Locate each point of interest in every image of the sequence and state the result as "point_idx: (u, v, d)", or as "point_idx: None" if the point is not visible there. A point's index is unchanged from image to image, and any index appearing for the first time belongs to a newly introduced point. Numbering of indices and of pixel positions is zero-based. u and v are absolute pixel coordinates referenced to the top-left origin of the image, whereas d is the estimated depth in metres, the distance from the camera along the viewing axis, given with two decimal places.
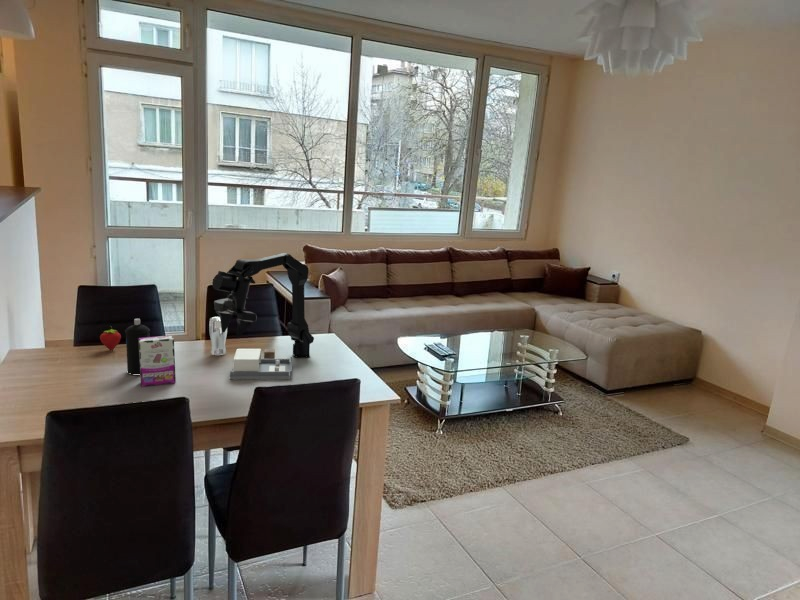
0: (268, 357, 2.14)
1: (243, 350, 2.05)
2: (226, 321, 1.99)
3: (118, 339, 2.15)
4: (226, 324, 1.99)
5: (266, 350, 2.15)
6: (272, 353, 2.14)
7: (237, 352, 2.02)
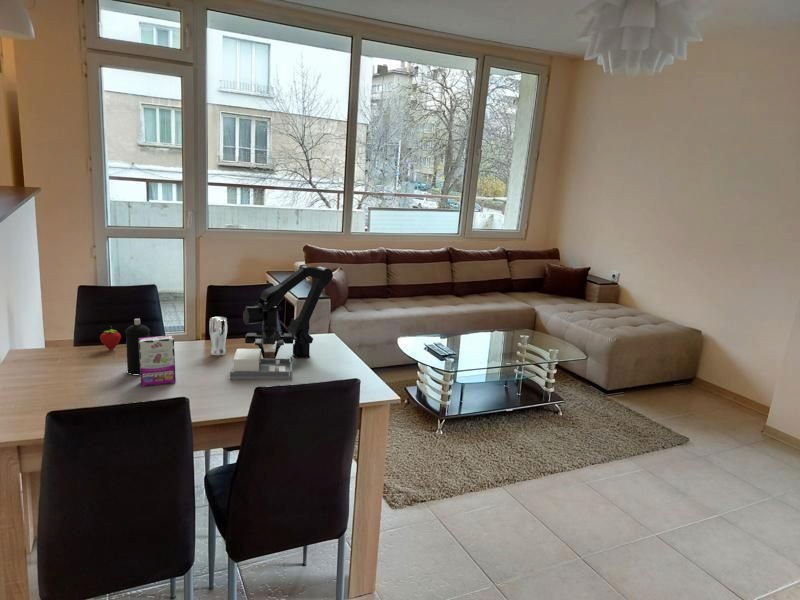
0: (268, 357, 2.14)
1: (243, 350, 2.05)
2: (263, 348, 2.15)
3: (118, 339, 2.15)
4: None
5: (266, 350, 2.15)
6: (272, 353, 2.14)
7: (237, 352, 2.02)
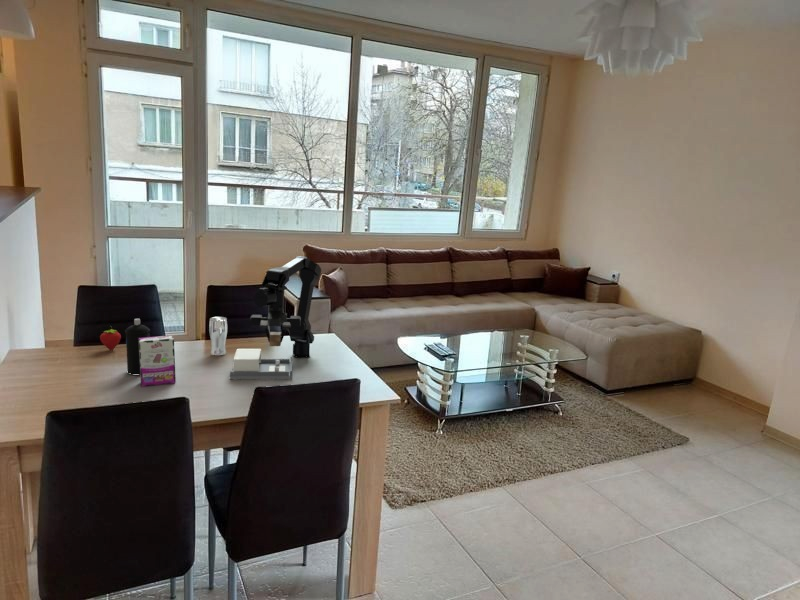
0: (274, 340, 2.02)
1: (243, 350, 2.05)
2: (269, 331, 2.04)
3: (118, 339, 2.15)
4: (269, 334, 2.04)
5: (272, 333, 2.04)
6: (278, 336, 2.02)
7: (237, 352, 2.02)
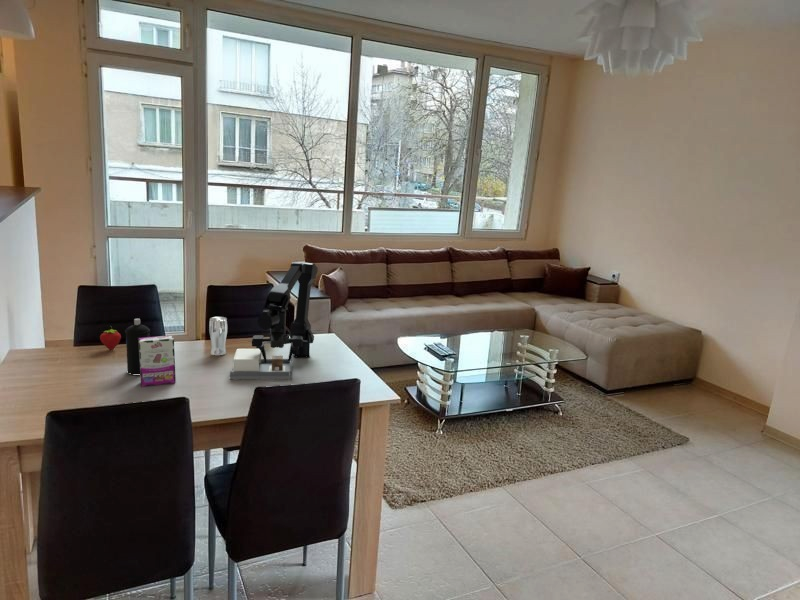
0: (276, 364, 2.02)
1: (243, 350, 2.05)
2: (265, 351, 2.03)
3: (118, 339, 2.15)
4: (265, 354, 2.03)
5: (274, 357, 2.04)
6: (280, 360, 2.02)
7: (237, 352, 2.02)
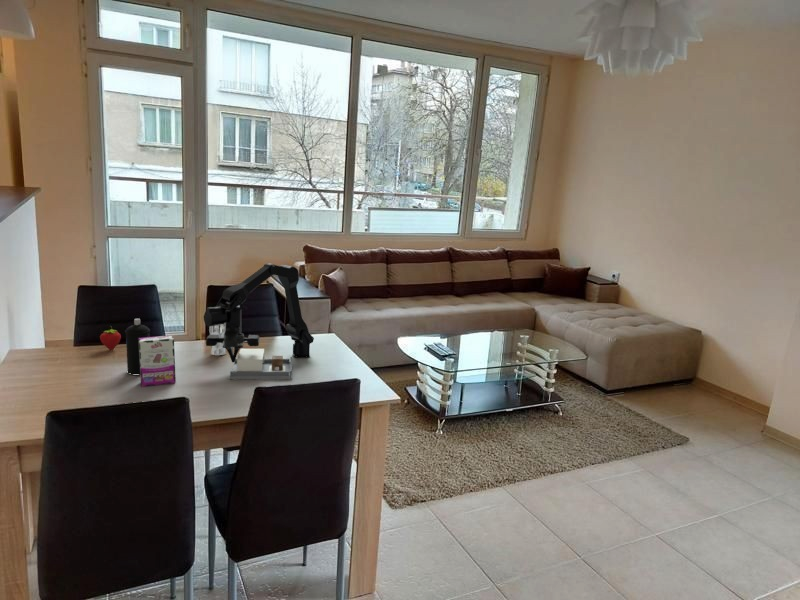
0: (276, 364, 2.02)
1: (246, 350, 2.05)
2: (232, 351, 2.01)
3: (118, 339, 2.15)
4: None
5: (274, 357, 2.04)
6: (280, 360, 2.02)
7: (241, 352, 2.02)
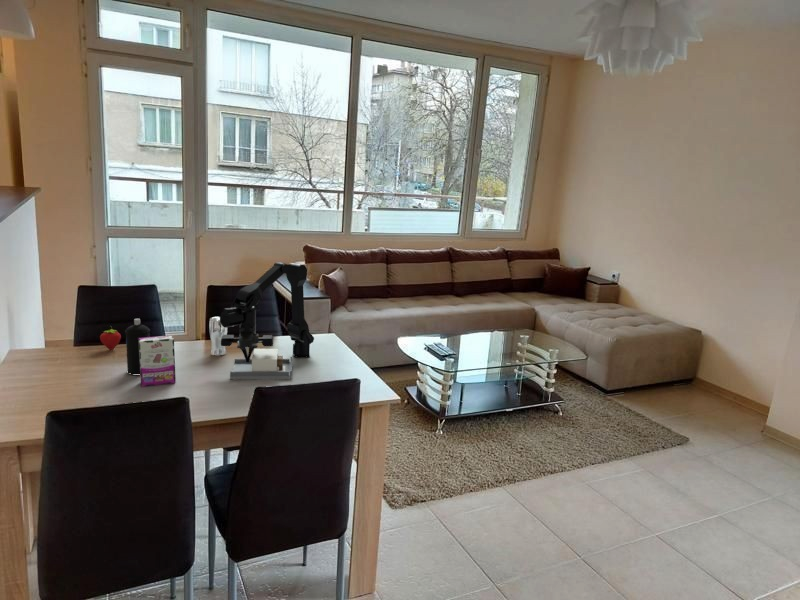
0: None
1: (260, 350, 2.06)
2: (246, 351, 2.02)
3: (118, 339, 2.15)
4: (247, 354, 2.02)
5: None
6: (280, 360, 2.02)
7: (255, 352, 2.03)
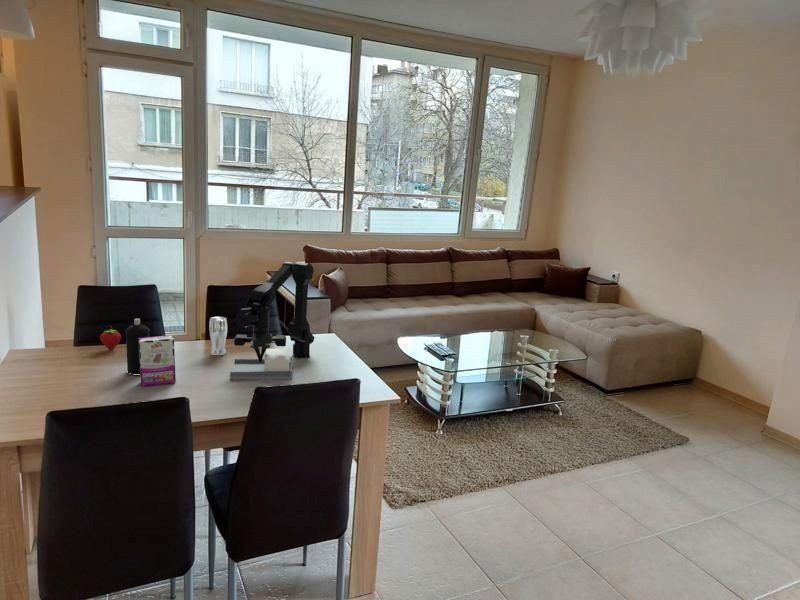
0: None
1: (272, 350, 2.07)
2: (259, 351, 2.03)
3: (118, 339, 2.15)
4: None
5: None
6: None
7: (267, 352, 2.04)
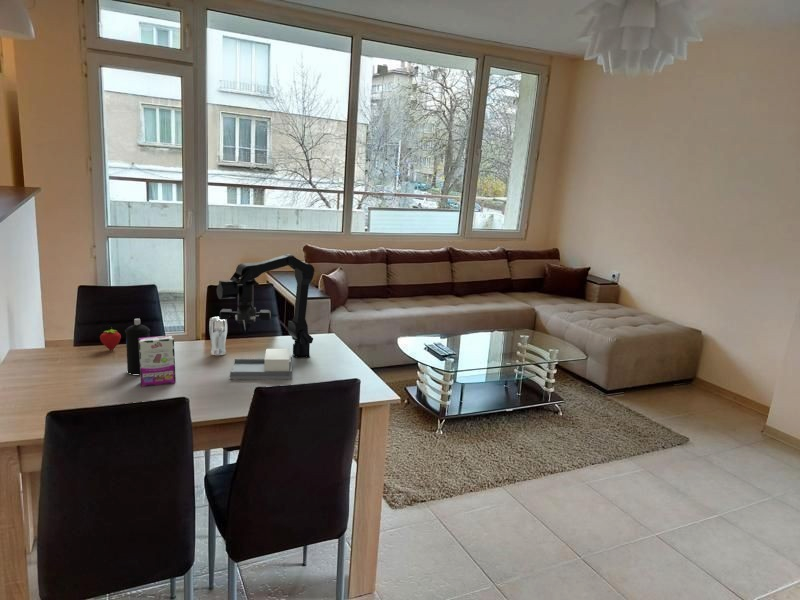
0: None
1: (272, 350, 2.07)
2: (244, 325, 2.07)
3: (118, 339, 2.15)
4: None
5: None
6: None
7: (267, 352, 2.04)
